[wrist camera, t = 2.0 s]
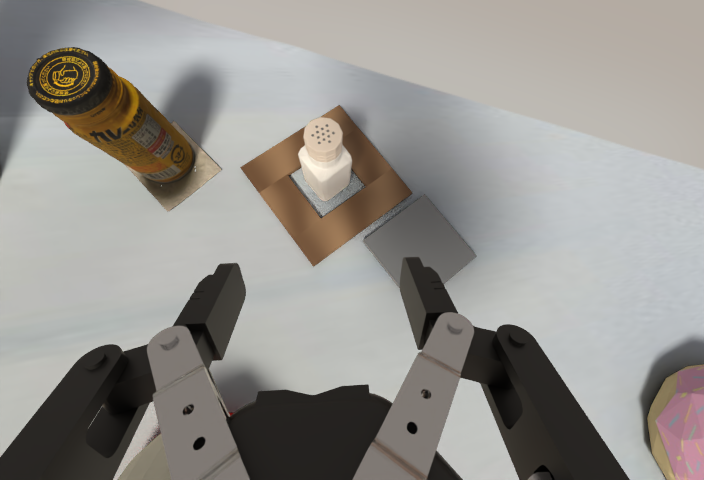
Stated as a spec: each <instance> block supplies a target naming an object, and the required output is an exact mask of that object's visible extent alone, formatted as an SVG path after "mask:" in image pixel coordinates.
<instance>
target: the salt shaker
mask: <svg viewBox="0 0 704 480" xmlns="http://www.w3.org/2000/svg"><path fill="white" fill-rule="evenodd" d="M303 138H304V142H305V145H304V146H303V147H302V148H301V149H300V151H299V153H298V156H299V159H300V163H301V167H302V170H303V174H304V177H305V181H306V182H307V183H308V185H309V186H310V187H311V188H312V189H313V191H314V192H315V193H316V194H317V196H318V197H319V198H320V199H321V200H323V201H328V200H330V199H331V198H332V197H334V196H335V195H336V194H338V193H339V192H340V191H342V190H343V189H344V188H346V187H347V186H348V185H349V183H350V175H351V166H352V158H351V155H350V154H349V152H348V151H347V150H346V148H345V147H344V146H343V145H342V139H343V132H342V130H341V128H340V126H339V124H338V123H336V122H335V121H333V120H332V119H331V118H323V117H320V118H317V119H314V120H311V121H310V122H309V124H308V125H307V126H306V127H305V130H304V136H303Z"/></svg>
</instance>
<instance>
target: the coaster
mask: <svg viewBox="0 0 704 480" xmlns="http://www.w3.org/2000/svg"><path fill="white" fill-rule="evenodd" d="M363 242H364V243H365V245H366V246H367V247H368V249H369V250H370V251H371V252H372V254H373V255H374V256H375V258H376V259H377V260H378V261H379V263H380V264H381V265H382V267H383V268H384V269H385V270H386V272H387V273H388V274H389V276H390V277H391V278H392V279H393V281H394V282H395V283H396V284H397V286H398V287H399V288H400V275H401V268H402V261H403V258H404V257H419V258H420V259H421V262H422V264H423V266H424V267H431V268H432V269H433V270H435V271H436V272H437V273H438V275H439V277H440V279H441V281H442V283H443V284H444V283H445V282H446V281H448V280H449V279H450V278H451V277H452V276H454V275H455V274H456V273H457V272H458V271H460V270H461V269H462V268H463V267H464V266H466V265H467V264H468V263H469V262H470V261H472V260H473V259H474V258H475V257H476V255H475V253H474V252H473V251H472V250H471V249H470V247H469V246H468V245H467V244H466V243H465V242H464V240H463V239H462V238H461V237H460V236H459V234H458V233H457V232H456V231H455V230H454V228H453V227H452V226H451V225H450V224H449V223H448V221H447V220H446V219H445V218H444V217H443V215H442V214H441V213H440V212H439V211H438V209H437V208H436V207H435V206H434V205H433V203H432V202H431V201H430V200H429V199H428V198H427V196H426V195H425V194H424V195H423V196H422V197H420V198H419V199H418V200H416V201H415V202H414V203H412V204H411V205H410V206H408V207H407V208H406V209H404V210H403V211H402V212H400V213H399V214H398V215H396V216H395V217H394V218H392V219H391V220H390V221H388V222H387V223H386V224H384V225H383V226H382V227H380V228H379V229H378V230H376V231H375V232H374V233H372V234H371V235H370V236H368V237H367V238H366V239H364V240H363Z"/></svg>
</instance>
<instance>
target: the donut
mask: <svg viewBox="0 0 704 480" xmlns="http://www.w3.org/2000/svg"><path fill="white" fill-rule="evenodd" d="M647 421H648V428H649V435H650V442H651V449H652V454H653V456H654V458H655V459H656V461H657V463H658V465H659V466H660V468H661V470H662V472H663V473H664V475H665V477H666V479H667V480H704V365H694V366H687V367H685V368H683V369H681V370H679V371H678V372H676V373H674V374H672V375H670V376H669V377H667V378H666V379H665V381H664V382H663V384H662V386H661V388H660V390H659V392H658V394H657V396H656V397H655V399H654V401H653V403H652V405H651V408H650V411H649V414H648V417H647Z"/></svg>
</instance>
